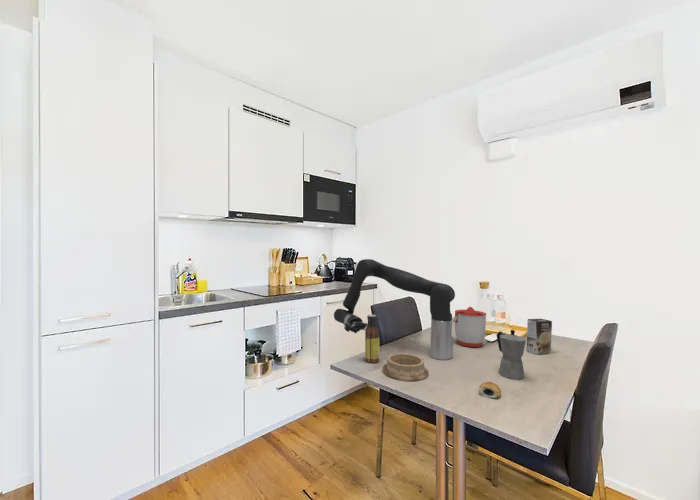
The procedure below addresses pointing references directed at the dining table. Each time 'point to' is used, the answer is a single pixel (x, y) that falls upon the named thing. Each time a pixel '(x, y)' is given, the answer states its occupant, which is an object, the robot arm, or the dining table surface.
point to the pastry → (489, 390)
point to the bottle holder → (405, 367)
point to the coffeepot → (511, 355)
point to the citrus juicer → (470, 327)
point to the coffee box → (539, 336)
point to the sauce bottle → (372, 340)
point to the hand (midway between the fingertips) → (364, 330)
